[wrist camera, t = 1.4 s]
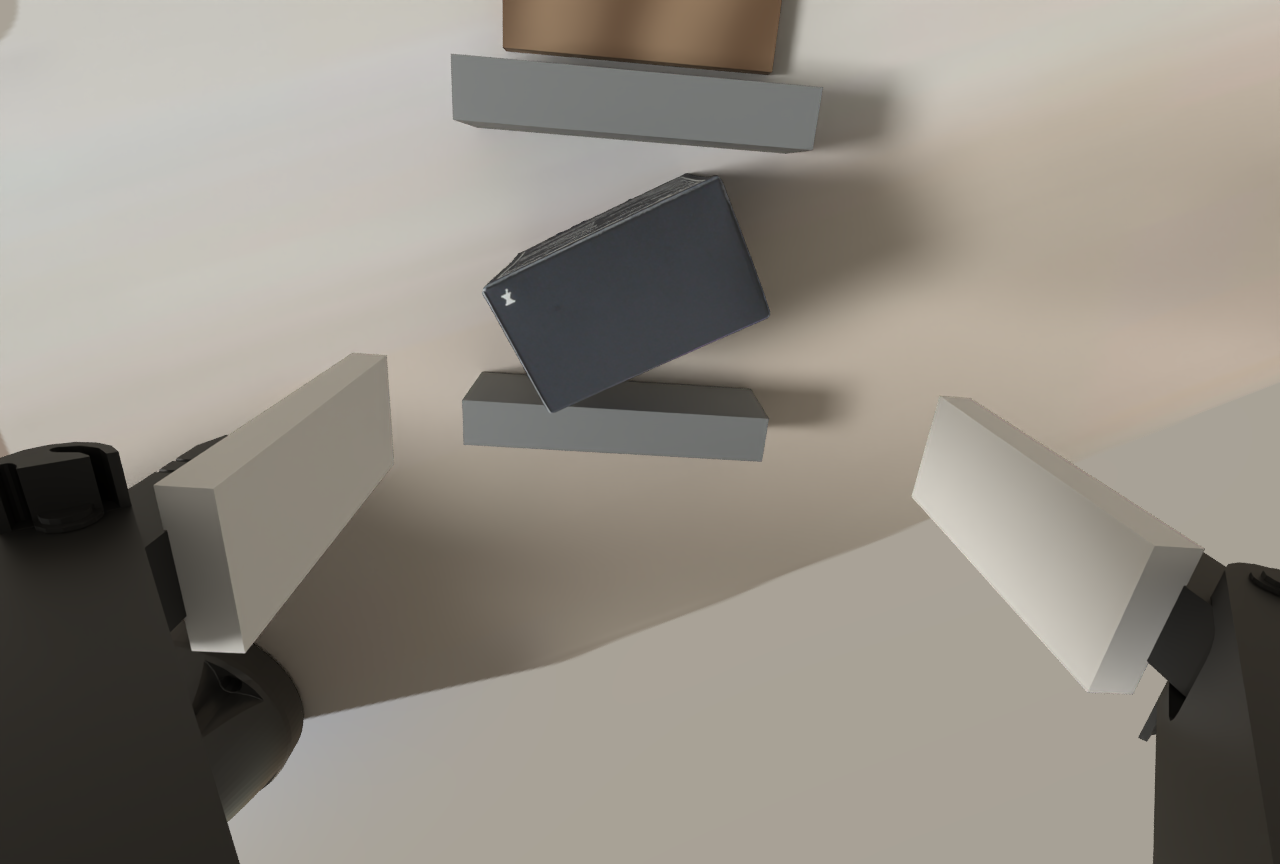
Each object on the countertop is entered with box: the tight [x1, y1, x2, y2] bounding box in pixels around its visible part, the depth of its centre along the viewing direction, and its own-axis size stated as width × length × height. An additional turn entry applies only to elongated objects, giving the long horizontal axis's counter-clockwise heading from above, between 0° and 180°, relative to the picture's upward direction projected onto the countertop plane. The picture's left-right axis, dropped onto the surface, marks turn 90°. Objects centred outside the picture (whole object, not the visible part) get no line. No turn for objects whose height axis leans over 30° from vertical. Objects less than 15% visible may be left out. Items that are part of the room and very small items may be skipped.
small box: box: [482, 173, 770, 413], centre depth 30 cm, size 11×6×10 cm, turn 114°
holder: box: [451, 54, 823, 462], centre depth 33 cm, size 16×18×5 cm
